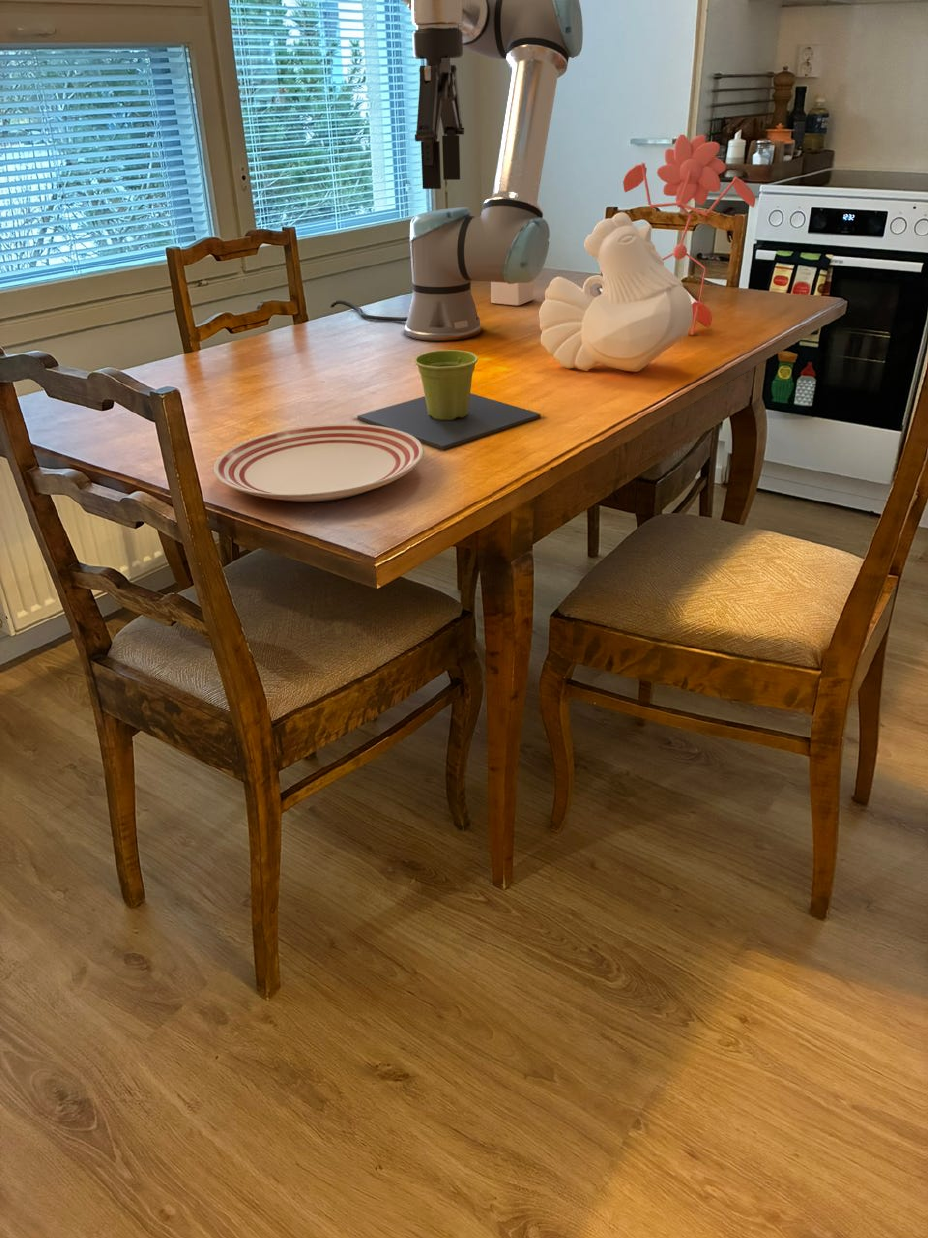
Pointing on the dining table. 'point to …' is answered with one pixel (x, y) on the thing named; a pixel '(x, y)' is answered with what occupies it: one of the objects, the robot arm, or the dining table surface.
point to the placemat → (449, 421)
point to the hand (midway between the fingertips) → (442, 183)
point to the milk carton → (511, 293)
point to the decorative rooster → (616, 304)
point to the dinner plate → (319, 462)
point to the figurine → (690, 191)
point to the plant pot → (447, 382)
